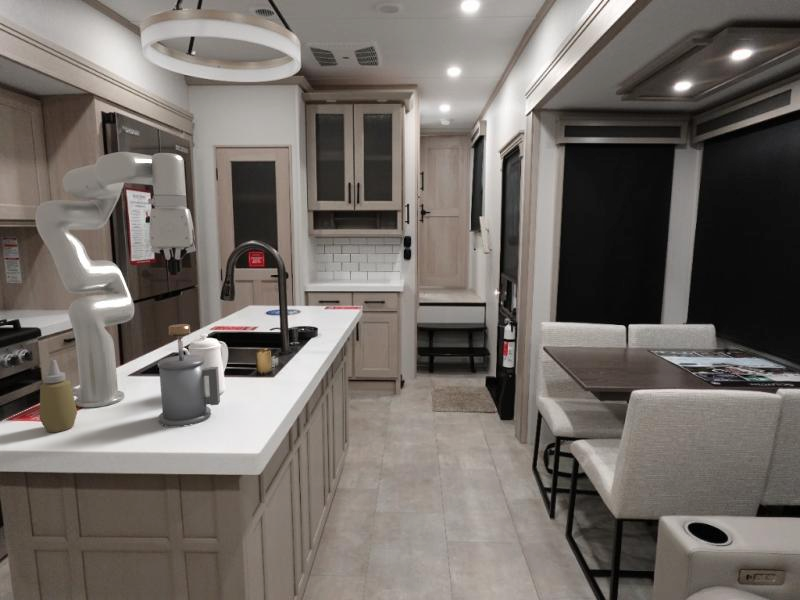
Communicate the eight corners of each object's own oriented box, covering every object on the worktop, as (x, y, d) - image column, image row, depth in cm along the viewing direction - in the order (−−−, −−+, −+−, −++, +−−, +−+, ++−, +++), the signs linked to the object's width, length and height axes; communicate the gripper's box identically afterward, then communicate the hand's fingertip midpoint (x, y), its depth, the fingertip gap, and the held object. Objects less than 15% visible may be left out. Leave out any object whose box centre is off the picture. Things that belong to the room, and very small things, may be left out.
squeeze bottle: (37, 436, 124) (29, 366, 121) (45, 425, 131) (37, 358, 128) (75, 431, 127) (68, 362, 124) (81, 420, 134) (74, 355, 132)
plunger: (168, 362, 131) (165, 328, 130) (174, 357, 136) (171, 324, 135) (189, 361, 132) (186, 327, 130) (194, 356, 137) (192, 323, 135)
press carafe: (151, 428, 129) (147, 367, 126) (167, 410, 141) (163, 355, 139) (214, 424, 131) (211, 365, 129) (224, 407, 144) (221, 353, 141)
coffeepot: (164, 406, 145) (160, 342, 142) (213, 380, 169) (210, 326, 166) (198, 408, 143) (194, 344, 140) (242, 382, 167) (240, 327, 164)
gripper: (134, 202, 123) (139, 276, 126) (197, 202, 125) (201, 275, 128) (145, 204, 131) (150, 274, 133) (204, 204, 133) (208, 273, 135)
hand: (175, 274), depth 131 cm, fingers closed
